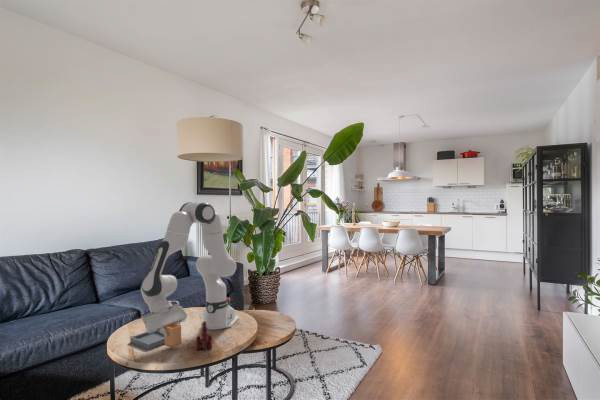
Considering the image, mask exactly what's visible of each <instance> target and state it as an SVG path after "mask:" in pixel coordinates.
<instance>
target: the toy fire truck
mask: <svg viewBox="0 0 600 400" xmlns="http://www.w3.org/2000/svg"><path fill="white" fill-rule="evenodd" d="M201 325H202V328H201V329H202V331H201V336H200V335H198V336H196V350H197V351H199V350H201V349H204V350H206V349H207V347H208V349H212V348H213V346H212V344H213V343H212V342H213V341H212V340H213V339H212V335H211V334H208V333H207V332H208V329H207V327H206V322H203V324H201Z"/></svg>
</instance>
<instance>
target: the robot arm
mask: <svg viewBox="0 0 600 400" xmlns="http://www.w3.org/2000/svg"><path fill="white" fill-rule="evenodd" d="M194 223H196V224H198V223H199V224H200V227H201V234H202V244H203V248H204V249H205V250H206V251H207V252H208V253H209V254H205V255H200V256H199V257H197V259H196V261H195V267H196V270H197V271H198V273H199V274H200V275H201V277H202V280H203V282H204V287H205V301H204V303H205V304H204V305H205V307H204V310H203V321H201V325H203V322H206V327H207V330H213V331H215V330H222V329H226V328H232V327H233V326H234V325H235V324H236V323H237V322H238V320H239V319H240V316H238V315H236V314H235V313H236V312H235V309H234V308H233V307H232V306H231V305H230V304H229V302H231V297H227V286H226V283H225V282H224V281H223V280H222V278H224V277H232V276H233V275H234V274H235V272H236V270H237V268H238V267H237V262H236V260H235V258H233V257H232V256H231V255H230V253H229V252H228V250H227V248H226V244H225V240H224V232H223V231H224V230H223V226H222V220H221V217H220V215H219V213H217V212H216V210H215V208H214V207H213V205H212V204H210V203H207V202H201V201H193V202H191V201H190V202H188V201H187V202H185V203H184V204H182V205H181V207H180V208H179V210H178V211H175V212H174V213H173V214H172V215H171V217H170V219H169V222H168V224H167V228H166V231H165V235H164V238H163V239H162V240H161V241H160V242H159V244H158V245H157V247H156V250H155V252H154V255H153V256H152V260H151V262H150V265H149V267H148V271H147V272H146V274H145V276H144V277H143V279H142V281H141V286H140V293H141V295H142V298H143V300H144V302H145V303H146V304H147V306H148V309H149V310H148V311H150V312H149V313H145V314H144V315H143V316H142V317H141V321H142V322H143V324H144V327H145V329H146V332H148V333H150V334H151V333H154V332H156V331H159V332H160V333H162V334H163V335H164V336H165V337H168V336H169V332H166V331H165V330H164V326H166V325H169V324H172V323H176V324H179V325H181V323H182V322H185V320H187V318H188V317H187V316H188V314H187V313H186V311H185V309H184V308H183V306H182V305H180V302H179V301H177V300H167V298H168V297H169V296H171V295H173V293H175V292H176V290H177V289H178V286H179V285H178V284H179V282H178V279H177V277H176V276H175V275H173V274H162V273H163V270H164V266H165V263H166V262H167V259H168V258H169V256H171V255H172V254H174V253H176V252H179V251H181V250H182V249H184V248H185V247H186V245H187V243H188V241H189V235H190V232H191V227H192V225H193V224H194ZM221 277H222V278H221Z"/></svg>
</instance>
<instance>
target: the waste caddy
mask: <svg viewBox="0 0 600 400" xmlns="http://www.w3.org/2000/svg"><path fill="white" fill-rule="evenodd" d="M164 330H165V331H166V332H169V336H168V337H165V336H164V344H163V345H164V346H166V347H170V348H171V349H172V348H176V347H177V346H180V345H182V324H180V325H179V324H176V323H172V324H169V325H166V326H164Z"/></svg>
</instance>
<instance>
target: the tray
mask: <svg viewBox="0 0 600 400" xmlns="http://www.w3.org/2000/svg"><path fill="white" fill-rule="evenodd" d="M130 344H134V345H136V346H138V347H141V348H143V349H145V350H148V351H149V350H153V349H154V348H157V347H159V346H162V345H164V335H163V334H162V333H160V332H159V331H156V332H154V333H151V334H150V333H148V332H147V331H145V332H142V333H139V334H136V335H133V336H131V337H130Z"/></svg>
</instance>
